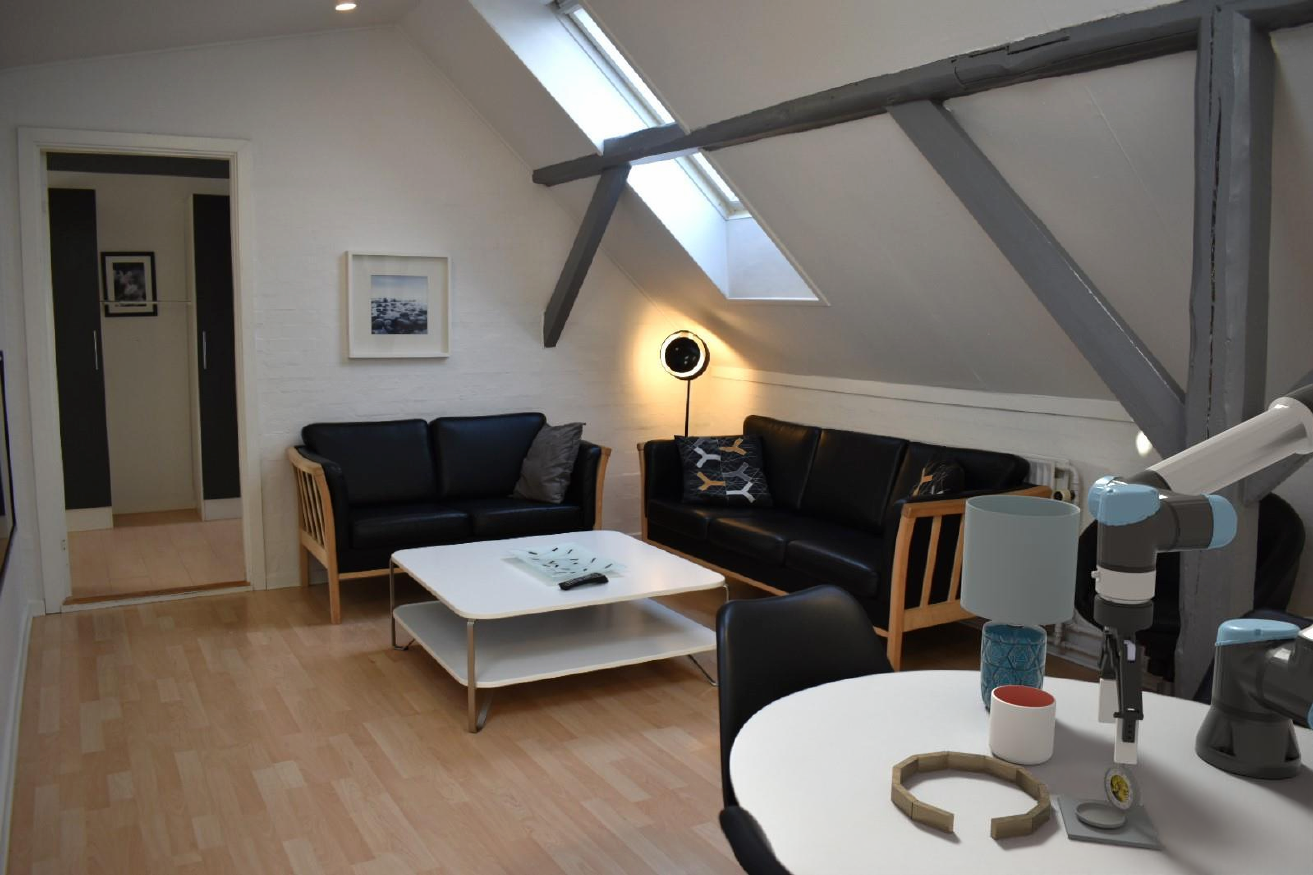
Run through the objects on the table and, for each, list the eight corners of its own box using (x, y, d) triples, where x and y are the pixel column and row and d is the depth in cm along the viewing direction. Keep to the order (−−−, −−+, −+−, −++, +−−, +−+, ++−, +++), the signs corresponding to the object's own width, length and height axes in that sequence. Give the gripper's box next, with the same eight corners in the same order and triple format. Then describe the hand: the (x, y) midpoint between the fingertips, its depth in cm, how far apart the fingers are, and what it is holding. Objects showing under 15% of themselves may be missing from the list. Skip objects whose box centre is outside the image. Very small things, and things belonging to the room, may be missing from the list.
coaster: (1143, 808, 157) (1143, 804, 157) (1161, 849, 145) (1161, 845, 145) (1057, 798, 159) (1057, 794, 159) (1068, 837, 148) (1068, 833, 148)
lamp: (969, 728, 185) (981, 515, 180) (944, 687, 204) (954, 493, 199) (1082, 731, 184) (1097, 517, 179) (1046, 690, 203) (1058, 496, 198)
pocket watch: (1068, 820, 151) (1073, 753, 150) (1086, 799, 158) (1091, 735, 157) (1128, 839, 146) (1134, 770, 145) (1145, 816, 153) (1150, 750, 152)
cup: (1056, 770, 169) (1061, 710, 168) (991, 764, 171) (994, 704, 170) (1047, 744, 179) (1051, 687, 177) (985, 738, 181) (988, 682, 179)
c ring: (1039, 776, 167) (1040, 761, 166) (1057, 847, 145) (1058, 830, 145) (893, 759, 172) (893, 744, 172) (889, 826, 150) (890, 809, 150)
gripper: (1081, 571, 161) (1075, 705, 164) (1110, 622, 137) (1102, 778, 140) (1135, 573, 159) (1128, 709, 162) (1174, 625, 135) (1164, 783, 138)
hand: (1116, 741), depth 151 cm, fingers open, 13 cm apart
